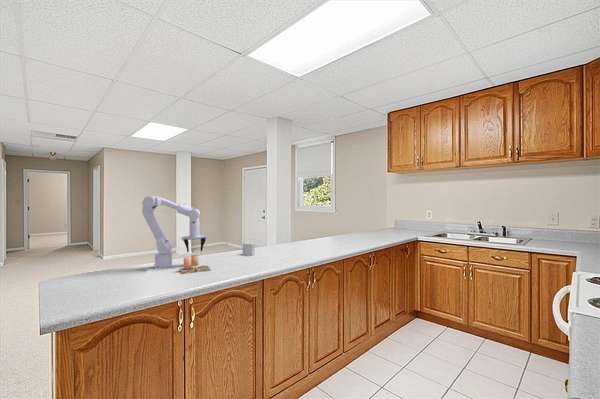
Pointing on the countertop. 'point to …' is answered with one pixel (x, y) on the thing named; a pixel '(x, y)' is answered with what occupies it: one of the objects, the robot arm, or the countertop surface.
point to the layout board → (195, 269)
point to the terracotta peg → (194, 260)
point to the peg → (187, 264)
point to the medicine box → (248, 249)
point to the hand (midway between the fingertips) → (194, 251)
